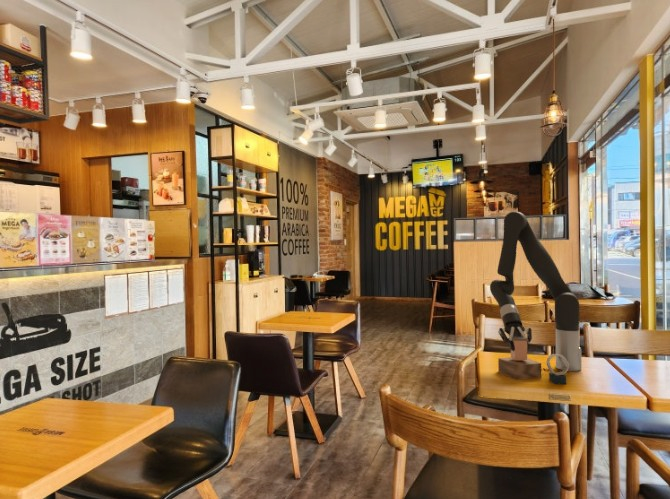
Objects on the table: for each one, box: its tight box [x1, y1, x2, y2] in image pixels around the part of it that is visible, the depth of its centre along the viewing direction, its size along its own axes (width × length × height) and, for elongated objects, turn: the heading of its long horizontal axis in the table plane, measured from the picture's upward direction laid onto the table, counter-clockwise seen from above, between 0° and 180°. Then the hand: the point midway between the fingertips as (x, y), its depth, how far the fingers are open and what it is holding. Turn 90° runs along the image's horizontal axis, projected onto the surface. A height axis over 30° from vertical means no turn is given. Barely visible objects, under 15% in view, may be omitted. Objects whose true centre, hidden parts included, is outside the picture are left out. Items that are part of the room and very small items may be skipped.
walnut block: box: [497, 356, 542, 380], centre depth 191 cm, size 12×12×6 cm
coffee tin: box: [510, 336, 528, 360], centre depth 191 cm, size 5×5×9 cm
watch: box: [546, 353, 569, 385], centre depth 180 cm, size 6×8×11 cm
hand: (520, 349), depth 189 cm, fingers closed on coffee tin, 5 cm apart
